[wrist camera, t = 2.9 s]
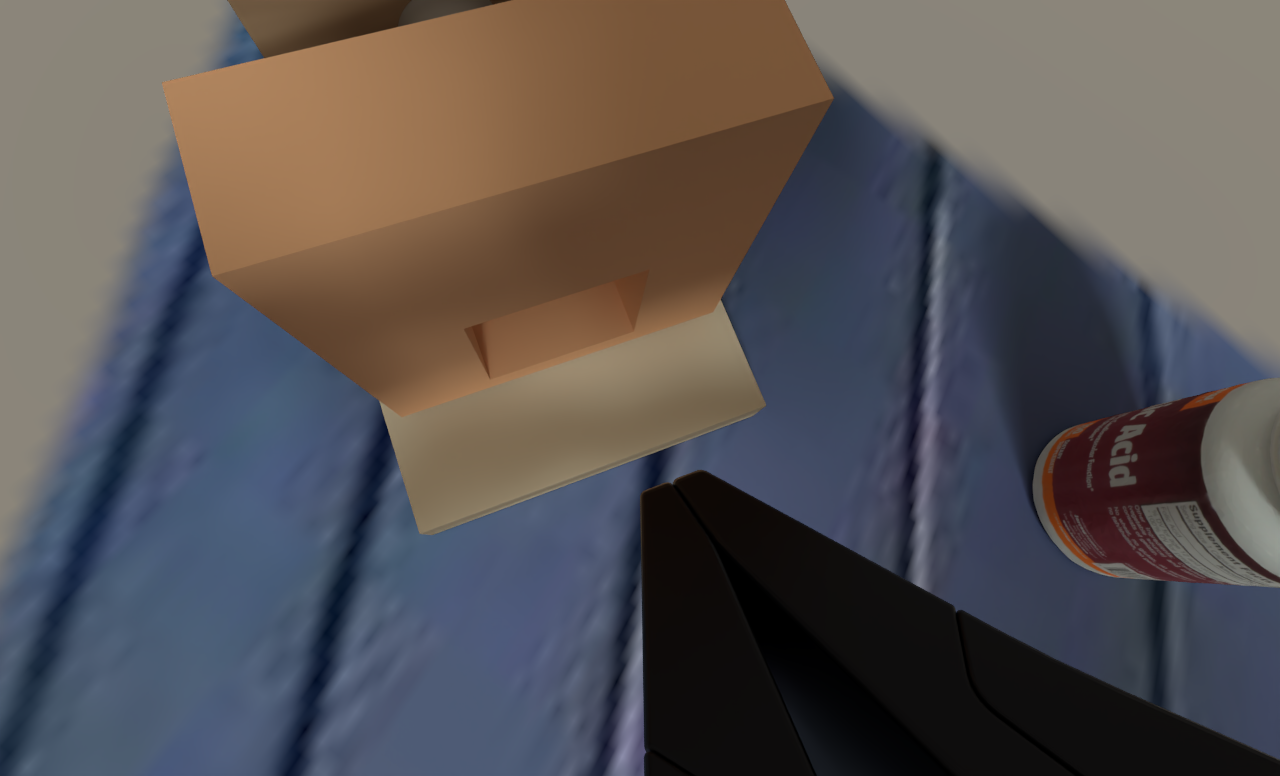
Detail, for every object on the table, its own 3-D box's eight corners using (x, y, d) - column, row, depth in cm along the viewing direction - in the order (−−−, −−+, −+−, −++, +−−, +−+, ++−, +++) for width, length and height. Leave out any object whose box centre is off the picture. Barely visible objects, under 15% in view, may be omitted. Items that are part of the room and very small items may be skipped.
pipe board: (752, 415, 20) (933, 277, 10) (432, 534, 18) (246, 516, 8) (602, 62, 22) (622, -338, 12) (310, 138, 21) (54, -254, 11)
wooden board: (713, 311, 19) (834, 98, 10) (401, 417, 17) (211, 276, 8) (674, 221, 19) (755, -58, 10) (370, 315, 18) (162, 82, 9)
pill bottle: (1083, 395, 21) (1397, 298, 13) (1197, 503, 21) (1600, 473, 12) (996, 495, 20) (1280, 457, 12) (1114, 612, 19) (1496, 657, 11)
